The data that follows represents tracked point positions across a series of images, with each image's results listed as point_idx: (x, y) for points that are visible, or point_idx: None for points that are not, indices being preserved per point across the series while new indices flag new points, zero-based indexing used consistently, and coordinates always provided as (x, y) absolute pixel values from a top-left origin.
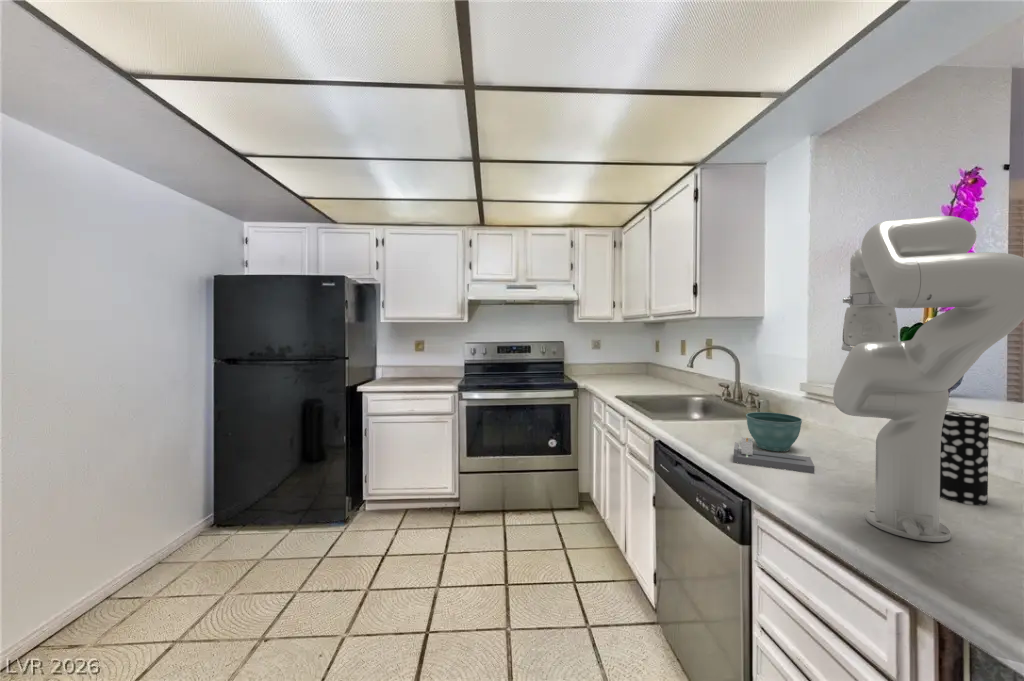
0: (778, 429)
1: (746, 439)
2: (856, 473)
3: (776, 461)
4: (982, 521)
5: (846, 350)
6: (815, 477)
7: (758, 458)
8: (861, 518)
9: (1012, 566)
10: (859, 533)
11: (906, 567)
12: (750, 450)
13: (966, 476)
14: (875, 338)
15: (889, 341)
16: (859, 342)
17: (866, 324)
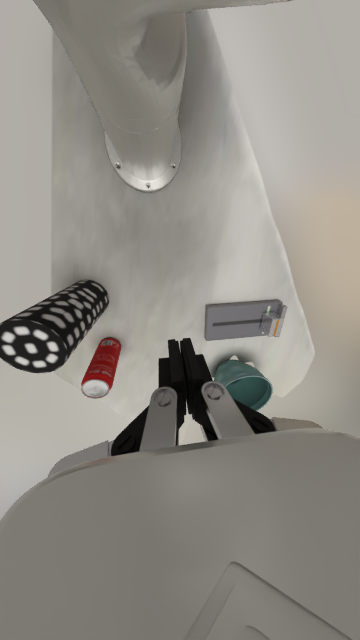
0: (239, 370)
1: (276, 327)
2: (168, 327)
3: (242, 305)
4: (76, 225)
5: (297, 421)
6: (206, 291)
7: (258, 307)
8: (184, 155)
9: (54, 51)
10: (194, 81)
11: None
12: (268, 315)
13: (74, 287)
14: (193, 563)
15: (58, 528)
16: (305, 466)
17: None
